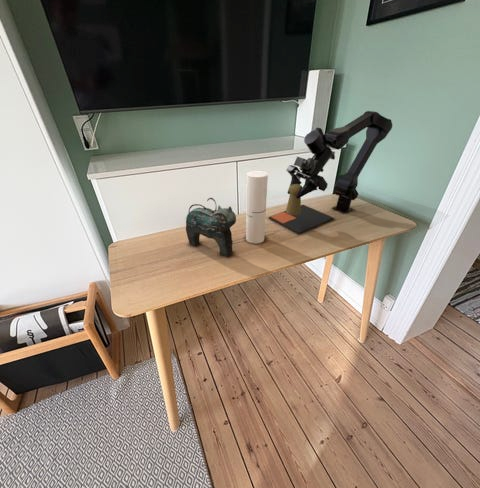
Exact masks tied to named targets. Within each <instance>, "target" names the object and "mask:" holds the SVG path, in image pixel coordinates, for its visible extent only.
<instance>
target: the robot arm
mask: <svg viewBox="0 0 480 488" xmlns="http://www.w3.org/2000/svg"><path fill="white" fill-rule="evenodd" d="M366 128H367V129H366ZM365 129H366V131H365V140H364V142H363V143H362V145H361V147H360V149H359V150H358V152H357V154H356V156H355V157H354V160H353V161H352V162H351V165H350V166H349V168H348V170H347V172H345V173H344V174H340V175H339V176H338V179H337V180H336V182H335V185H334V195H336V196H338V199H337V201H336V206H333V207H332V209H333V210H336V211H338V212H339V213H340V212H341V213H344V214H345V213H349V212H350V211H352V210H353V207H351V205H352V201H355V200H356V199H358V196H359V192H358V190H357V187H358V184H359V183H358V182H359V180H358V179H359V176H360V174H361V173H362V171H363V168H364V167H365V166H366V164H367V162H368V160H369V159H370V157H371V155H372V154H373V152H374V150H375V148H376V147H377V145H378V144H379V143H381V142H382V141H383V140H385V139H386V138H387V136H388V135H389V133H390V132H391V130H392V129H393V121H392V119H391V118H387V117H385V116H384V115H381V114H380V113H379V112H378V111H373V110H367V111H365V112H363V114H362V115H360V116H358V117H357V118H354V119H353V120H351V121H350V122H349V123H347V124H345V125H344V126H341V127H340V126H339V127H336V128H332V129H329V130H328V131H327V132H325V133H324V132H323V131H324V130H323V129H322V127H316V128H315V129H313V130H311V131H309V133H307V134H306V135H305V137H304V138H303V142H304V144H305V145H306V147H307V148H308V150H309V151H310V153H311V154H313V156H312V157H308V158H307V159H306V158H303V157H300V156H296V158H295V160H294V163H293V164H290V165H288V166H287V168H286V170H285V171H286V172H287V173H288V174H289V175H290V177H291V180H290V184H289V187H288V189H287V194H288V195H290V192H289V188H290V186H291V185H293V184H299V185H301V184H302V181H301V179H303V180H304V184H303V186H302V189H301V190H300V192H299V193H298V194H297V196H296V198H297V199H298V198H300V197H301V198H302V197H304V196H305V195H308V194H310V193H312V192H314V191H318V190H320V191H322V192H325V191H326V190H327V188H328V182H327V181H326V179H325V178H324V176H321V175H319V174H320V173H323V172H324V167H325V166H326V165H327V163H328V162H329V161H330V160H335V159H336V156H335V154H336V151H333V150H332V149H334V150H341V149H342V148H343V147H345V146H346V145H347V144H348V143H349V141H350V139H351V138H352V137H353V136H355V135H357V134H359V133H360V132H362V131H364V130H365Z"/></svg>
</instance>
